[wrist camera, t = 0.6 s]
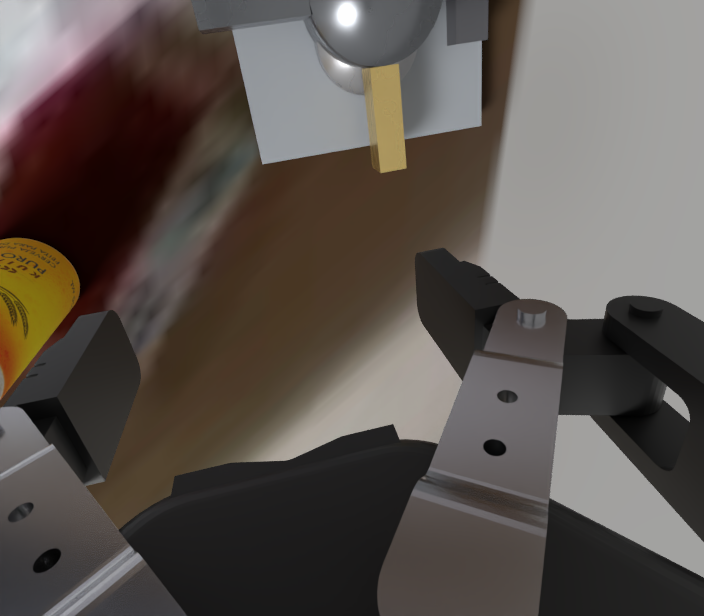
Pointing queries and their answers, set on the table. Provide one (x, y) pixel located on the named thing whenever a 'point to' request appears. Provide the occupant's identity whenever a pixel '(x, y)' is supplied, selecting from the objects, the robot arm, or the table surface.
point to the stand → (350, 109)
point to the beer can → (31, 301)
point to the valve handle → (348, 51)
